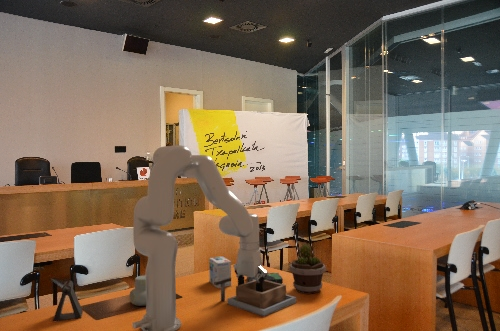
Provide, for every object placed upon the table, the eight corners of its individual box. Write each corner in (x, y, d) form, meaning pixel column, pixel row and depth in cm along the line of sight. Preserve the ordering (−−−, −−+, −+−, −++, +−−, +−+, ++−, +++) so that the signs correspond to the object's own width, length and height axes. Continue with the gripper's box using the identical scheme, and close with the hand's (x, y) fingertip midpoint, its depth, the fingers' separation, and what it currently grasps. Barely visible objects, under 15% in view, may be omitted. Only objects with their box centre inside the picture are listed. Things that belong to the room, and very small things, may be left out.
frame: (262, 310, 144) (262, 294, 144) (236, 302, 153) (235, 286, 153) (286, 300, 154) (285, 285, 153) (259, 293, 163) (259, 278, 163)
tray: (263, 316, 140) (263, 310, 140) (227, 304, 153) (227, 298, 153) (296, 302, 153) (296, 297, 153) (260, 292, 166) (260, 287, 166)
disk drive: (249, 287, 175) (283, 284, 177) (249, 280, 175) (283, 278, 177) (246, 280, 185) (278, 277, 187) (246, 273, 185) (278, 271, 187)
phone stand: (83, 312, 146) (82, 279, 146) (81, 318, 141) (80, 284, 141) (55, 315, 144) (55, 281, 144) (52, 321, 138) (51, 286, 138)
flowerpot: (329, 295, 160) (329, 245, 160) (291, 296, 160) (290, 246, 160) (323, 284, 175) (322, 238, 175) (287, 285, 175) (287, 238, 175)
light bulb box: (209, 281, 182) (208, 257, 181) (223, 279, 184) (222, 255, 184) (217, 288, 172) (216, 263, 172) (232, 286, 175) (231, 261, 175)
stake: (216, 304, 153) (216, 282, 153) (213, 303, 154) (213, 281, 154) (231, 298, 159) (231, 277, 159) (229, 297, 160) (228, 277, 160)
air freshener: (128, 301, 157) (127, 275, 157) (149, 297, 162) (148, 272, 162) (136, 310, 148) (136, 282, 148) (158, 305, 152) (158, 279, 152)
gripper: (227, 244, 160) (227, 287, 161) (259, 250, 148) (260, 297, 149) (240, 241, 166) (241, 283, 166) (272, 247, 154) (273, 292, 154)
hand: (250, 289), depth 157 cm, fingers open, 9 cm apart
